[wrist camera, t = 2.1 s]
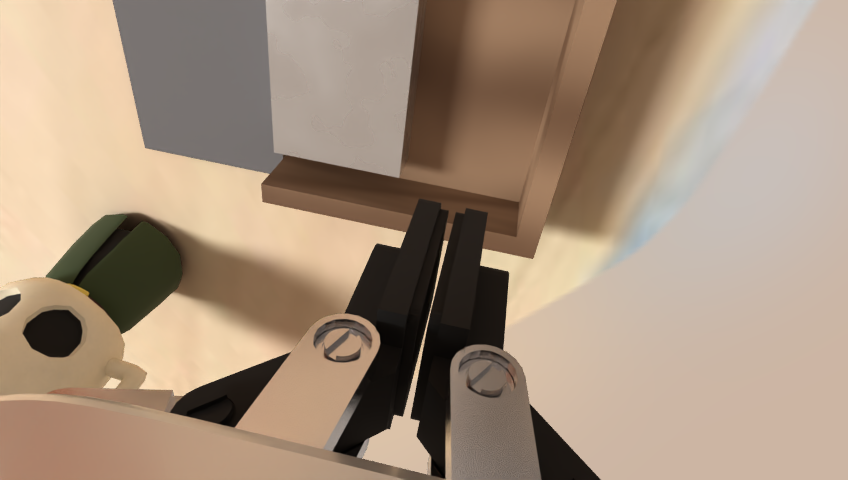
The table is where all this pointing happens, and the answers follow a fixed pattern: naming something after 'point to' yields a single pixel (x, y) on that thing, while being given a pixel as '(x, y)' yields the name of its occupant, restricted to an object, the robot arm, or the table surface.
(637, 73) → the table surface
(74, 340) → the character mug
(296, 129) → the concrete block
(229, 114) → the gray mat
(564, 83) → the walnut box
